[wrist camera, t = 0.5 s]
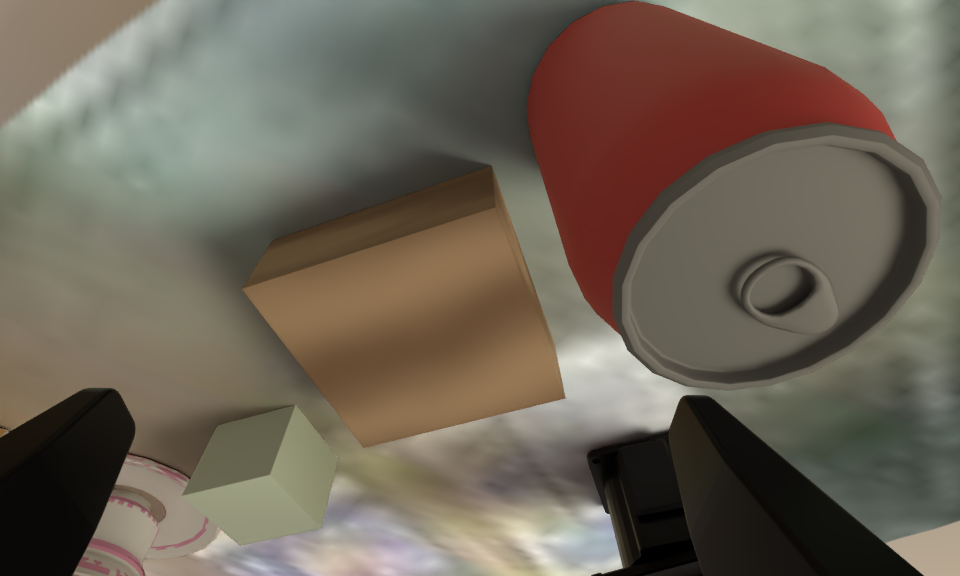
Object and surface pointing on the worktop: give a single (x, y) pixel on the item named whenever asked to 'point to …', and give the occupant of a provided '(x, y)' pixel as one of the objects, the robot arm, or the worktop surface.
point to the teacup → (145, 523)
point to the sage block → (264, 477)
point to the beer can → (725, 197)
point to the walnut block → (413, 311)
